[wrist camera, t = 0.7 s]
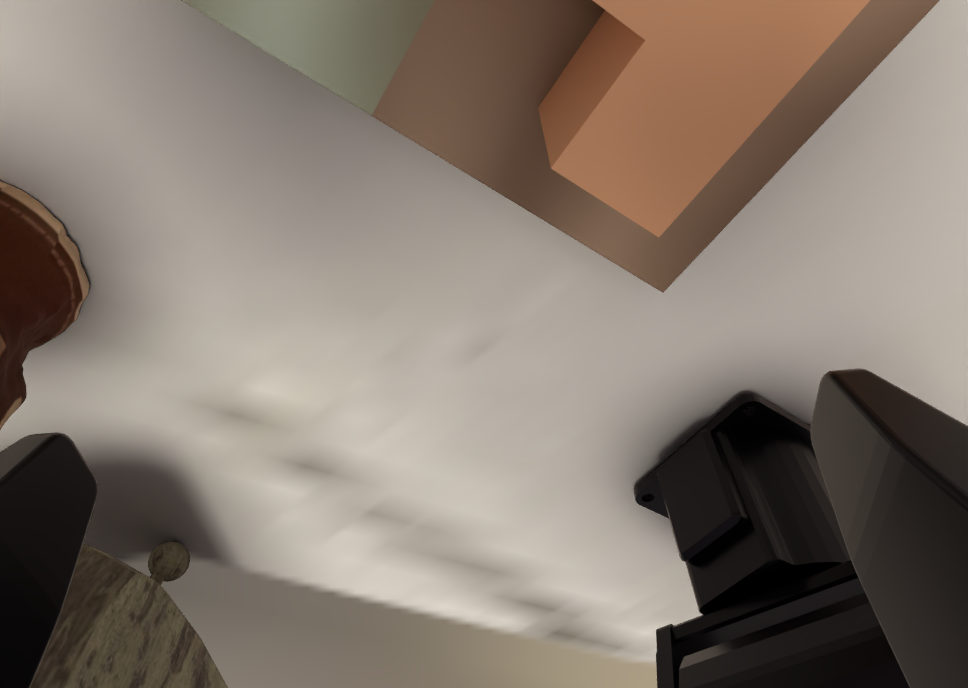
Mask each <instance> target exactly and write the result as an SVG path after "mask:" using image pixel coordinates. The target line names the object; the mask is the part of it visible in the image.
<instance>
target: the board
mask: <svg viewBox="0 0 968 688" xmlns="http://www.w3.org/2000/svg"><path fill="white" fill-rule="evenodd" d="M182 1H183V2H185V3H187V4H188V5H190V6H192V7H193V8H195V9H197V10H198V11H200V12H202V13H203V14H205V15H207V16H208V17H210V18H211V19H213V20H215V21H216V22H218V23H220V24H221V25H223V26H225V27H226V28H228V29H230V30H231V31H233V32H235V33H236V34H238V35H239V36H241V37H243V38H244V39H246V40H248V41H249V42H251V43H253V44H254V45H256V46H258V47H259V48H261V49H263V50H264V51H266V52H267V53H269V54H271V55H272V56H274V57H276V58H277V59H279V60H281V61H282V62H284V63H286V64H287V65H289V66H291V67H292V68H294V69H295V70H297V71H299V72H300V73H302V74H304V75H305V76H307V77H309V78H310V79H312V80H314V81H315V82H317V83H319V84H320V85H322V86H323V87H325V88H327V89H328V90H330V91H332V92H333V93H335V94H337V95H338V96H340V97H342V98H343V99H345V100H347V101H348V102H350V103H351V104H353V105H355V106H356V107H358V108H360V109H361V110H363V111H365V112H366V113H368V114H370V115H371V116H373V117H375V118H376V119H378V120H379V121H381V122H383V123H384V124H386V125H388V126H389V127H391V128H393V129H394V130H396V131H398V132H399V133H401V134H403V135H404V136H406V137H407V138H409V139H411V140H412V141H414V142H416V143H417V144H419V145H421V146H422V147H424V148H426V149H427V150H429V151H431V152H432V153H434V154H435V155H437V156H439V157H440V158H442V159H444V160H445V161H447V162H449V163H450V164H452V165H454V166H455V167H457V168H459V169H460V170H462V171H463V172H465V173H467V174H468V175H470V176H472V177H473V178H475V179H477V180H478V181H480V182H482V183H483V184H485V185H487V186H488V187H490V188H491V189H493V190H495V191H496V192H498V193H500V194H501V195H503V196H505V197H506V198H508V199H510V200H511V201H513V202H515V203H516V204H518V205H519V206H521V207H523V208H524V209H526V210H528V211H529V212H531V213H533V214H534V215H536V216H538V217H539V218H541V219H543V220H544V221H546V222H548V223H549V224H551V225H552V226H554V227H556V228H557V229H559V230H561V231H562V232H564V233H566V234H567V235H569V236H571V237H572V238H574V239H576V240H577V241H579V242H580V243H582V244H584V245H585V246H587V247H589V248H590V249H592V250H594V251H595V252H597V253H599V254H600V255H602V256H604V257H605V258H607V259H608V260H610V261H612V262H613V263H615V264H617V265H618V266H620V267H622V268H623V269H625V270H627V271H628V272H630V273H632V274H633V275H635V276H636V277H638V278H640V279H641V280H643V281H645V282H646V283H648V284H650V285H651V286H653V287H655V288H656V289H658V290H660V291H661V292H664V291H665V290H666V289H667V288H668V287H669V286H670V285H671V284H672V283H673V282H674V281H675V279H676V278H677V277H678V276H679V275H680V274H681V273H682V272H683V271H684V270H685V269H686V268H687V267H688V266H689V265H690V264H691V263H692V261H693V260H694V259H695V258H696V257H697V256H698V255H699V254H700V253H701V252H702V251H703V250H704V249H705V248H706V247H707V246H708V245H709V244H710V242H711V241H712V240H713V239H714V238H715V237H716V236H717V235H718V234H719V233H720V232H721V231H722V230H723V229H724V228H725V227H726V226H727V224H728V223H729V222H730V221H731V220H732V219H733V218H734V217H735V216H736V215H737V214H738V213H739V212H740V211H741V210H742V209H743V208H744V207H745V205H746V204H747V203H748V202H749V201H750V200H751V199H752V198H753V197H754V196H755V195H756V194H757V193H758V192H759V191H760V190H761V189H762V187H763V186H764V185H765V184H766V183H767V182H768V181H769V180H770V179H771V178H772V177H773V176H774V175H775V174H776V173H777V172H778V171H779V170H780V168H781V167H782V166H783V165H784V164H785V163H786V162H787V161H788V160H789V159H790V158H791V157H792V156H793V155H794V154H795V153H796V152H797V150H798V149H799V148H800V147H801V146H802V145H803V144H804V143H805V142H806V141H807V140H808V139H809V138H810V137H811V136H812V135H813V134H814V133H815V131H816V130H817V129H818V128H819V127H820V126H821V125H822V124H823V123H824V122H825V121H826V120H827V119H828V118H829V117H830V116H831V115H832V113H833V112H834V111H835V110H836V109H837V108H838V107H839V106H840V105H841V104H842V103H843V102H844V101H845V100H846V99H847V98H848V97H849V96H850V94H851V93H852V92H853V91H854V90H855V89H856V88H857V87H858V86H859V85H860V84H861V83H862V82H863V81H864V80H865V79H866V78H867V76H868V75H869V74H870V73H871V72H872V71H873V70H874V69H875V68H876V67H877V66H878V65H879V64H880V63H881V62H882V61H883V60H884V59H885V57H886V56H887V55H888V54H889V53H890V52H891V51H892V50H893V49H894V48H895V47H896V46H897V45H898V44H899V43H900V42H901V41H902V39H903V38H904V37H905V36H906V35H907V34H908V33H909V32H910V31H911V30H912V29H913V28H914V27H915V26H916V25H917V24H918V23H919V22H920V20H921V19H922V18H923V17H924V16H925V15H926V14H927V13H928V12H929V11H930V10H931V9H932V8H933V7H934V6H935V5H936V4H937V2H938V1H939V0H870V1H869V2H868V4H867V5H866V6H865V7H864V8H863V9H862V10H861V11H860V13H859V14H858V15H857V16H856V17H855V18H854V19H853V20H852V22H851V23H850V24H849V25H848V26H847V27H846V28H845V29H844V31H843V32H842V33H841V34H840V35H839V36H838V37H837V38H836V40H835V41H834V42H833V43H832V44H831V45H830V46H829V47H828V48H827V50H826V51H825V52H824V53H823V54H822V55H821V56H820V57H819V59H818V60H817V61H816V62H815V63H814V64H813V65H812V66H811V68H810V69H809V70H808V71H807V72H806V73H805V74H804V75H803V77H802V78H801V79H800V80H799V81H798V82H797V83H796V84H795V86H794V87H793V88H792V89H791V90H790V91H789V92H788V93H787V94H786V96H785V97H784V98H783V99H782V100H781V101H780V102H779V103H778V105H777V106H776V107H775V108H774V109H773V110H772V111H771V112H770V114H769V115H768V116H767V117H766V118H765V119H764V120H763V121H762V123H761V124H760V125H759V126H758V127H757V128H756V129H755V130H754V132H753V133H752V134H751V135H750V136H749V137H748V138H747V139H746V140H745V142H744V143H743V144H742V145H741V146H740V147H739V148H738V149H737V151H736V152H735V153H734V154H733V155H732V156H731V157H730V158H729V160H728V161H727V162H726V163H725V164H724V165H723V166H722V167H721V169H720V170H719V171H718V172H717V173H716V174H715V175H714V176H713V178H712V179H711V180H710V181H709V182H708V183H707V184H706V185H705V186H704V188H703V189H702V190H701V191H700V192H699V193H698V194H697V195H696V197H695V198H694V199H693V200H692V201H691V202H690V203H689V204H688V206H687V207H686V208H685V209H684V210H683V211H682V212H681V213H680V215H679V216H678V217H677V218H676V219H675V220H674V221H673V222H672V224H671V225H670V226H669V227H668V228H667V229H666V230H665V231H664V232H663V234H662V235H661V236H660V237H657V236H656V235H654V234H652V233H651V232H649V231H648V230H646V229H645V228H643V227H641V226H640V225H638V224H637V223H635V222H634V221H632V220H631V219H629V218H627V217H626V216H624V215H623V214H621V213H620V212H618V211H617V210H615V209H613V208H612V207H610V206H609V205H607V204H606V203H604V202H602V201H601V200H599V199H598V198H596V197H595V196H593V195H592V194H590V193H588V192H587V191H585V190H584V189H582V188H581V187H579V186H577V185H576V184H574V183H573V182H571V181H570V180H568V179H567V178H565V177H563V176H562V175H560V174H559V173H557V172H556V171H554V170H552V169H551V166H550V162H549V157H548V152H547V148H546V143H545V138H544V134H543V129H542V124H541V119H540V115H539V110H538V107H539V105H540V104H541V103H542V101H543V100H544V98H545V97H546V95H547V94H548V92H549V91H550V89H551V88H552V86H553V85H554V84H555V82H556V81H557V79H558V78H559V76H560V75H561V73H562V72H563V70H564V69H565V68H566V66H567V65H568V63H569V62H570V60H571V59H572V57H573V56H574V54H575V53H576V52H577V50H578V49H579V47H580V46H581V44H582V43H583V41H584V40H585V38H586V37H587V36H588V34H589V33H590V31H591V30H592V28H593V27H594V25H595V24H596V22H597V21H598V20H599V18H600V17H601V15H602V14H603V12H604V11H605V9H603V8H602V7H601V6H599V5H598V4H597V3H595V2H594V1H593V0H182Z"/></svg>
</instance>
